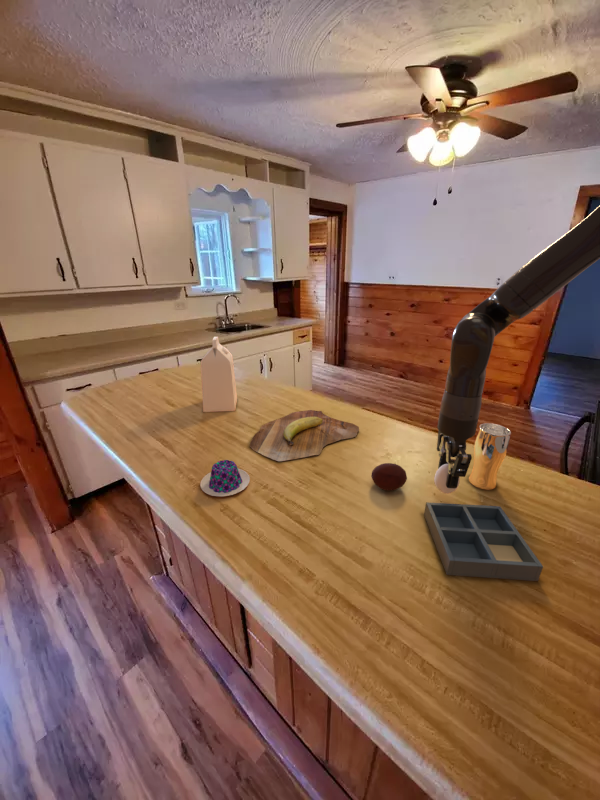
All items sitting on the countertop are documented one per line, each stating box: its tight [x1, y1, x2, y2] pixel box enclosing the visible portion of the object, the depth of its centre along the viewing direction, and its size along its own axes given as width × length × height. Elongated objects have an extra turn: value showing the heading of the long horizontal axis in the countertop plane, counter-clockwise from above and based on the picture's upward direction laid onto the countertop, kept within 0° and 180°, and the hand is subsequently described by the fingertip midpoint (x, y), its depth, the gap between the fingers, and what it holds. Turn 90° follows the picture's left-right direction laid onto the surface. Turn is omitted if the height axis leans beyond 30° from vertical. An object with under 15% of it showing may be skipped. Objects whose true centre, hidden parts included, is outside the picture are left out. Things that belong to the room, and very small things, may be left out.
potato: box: [371, 462, 408, 492], centre depth 81 cm, size 7×8×6 cm
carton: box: [423, 501, 544, 582], centre depth 65 cm, size 15×15×3 cm
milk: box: [200, 336, 238, 413], centre depth 125 cm, size 12×12×26 cm
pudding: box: [199, 459, 251, 497], centre depth 82 cm, size 12×12×5 cm
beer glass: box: [468, 422, 512, 491], centre depth 82 cm, size 7×7×15 cm
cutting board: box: [249, 409, 360, 462], centre depth 107 cm, size 35×27×4 cm
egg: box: [433, 464, 461, 495], centre depth 77 cm, size 5×5×7 cm
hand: (446, 479), depth 77 cm, fingers closed on egg, 5 cm apart
